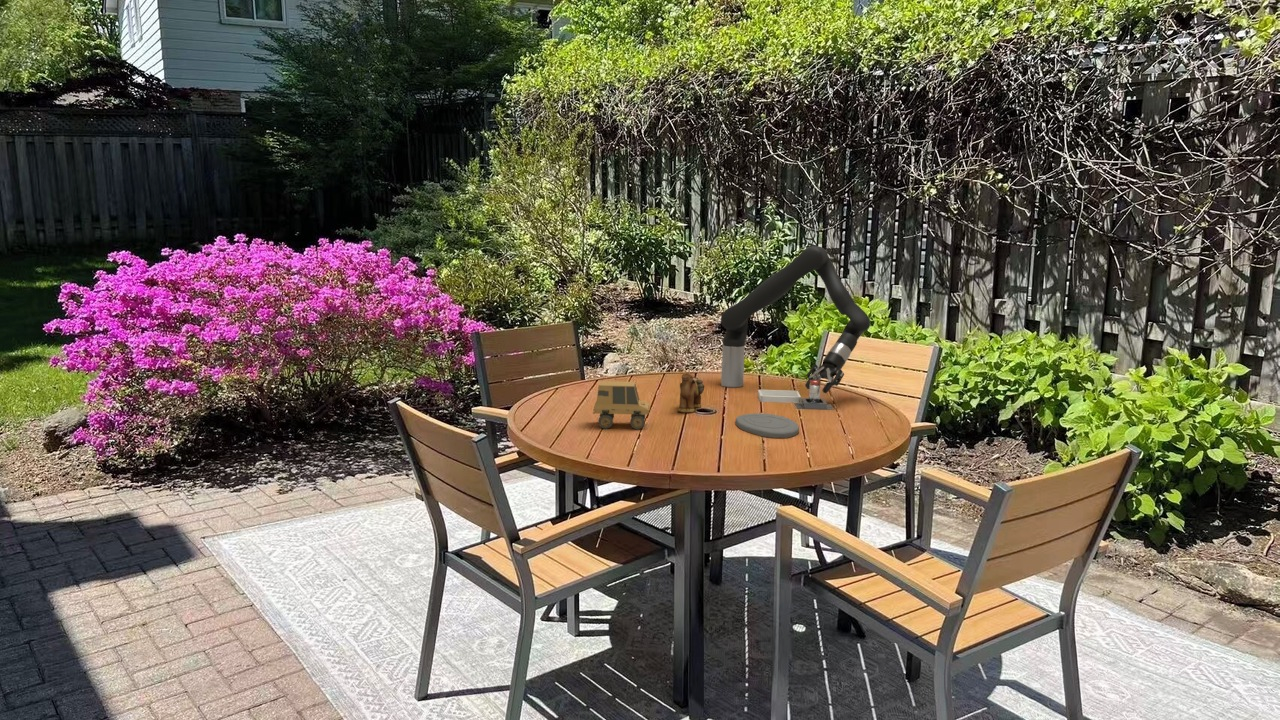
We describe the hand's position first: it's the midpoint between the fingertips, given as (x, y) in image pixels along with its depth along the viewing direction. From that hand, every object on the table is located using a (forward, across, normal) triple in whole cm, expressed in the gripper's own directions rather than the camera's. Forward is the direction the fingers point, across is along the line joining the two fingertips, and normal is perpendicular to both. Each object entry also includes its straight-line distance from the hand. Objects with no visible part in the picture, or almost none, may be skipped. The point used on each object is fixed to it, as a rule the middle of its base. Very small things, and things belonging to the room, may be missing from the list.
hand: (815, 389), depth 333 cm
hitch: (+5, 0, +5) cm, 7 cm away
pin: (+5, 0, +4) cm, 6 cm away
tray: (+7, -16, +3) cm, 18 cm away
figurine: (+34, -24, -24) cm, 49 cm away
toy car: (+59, -21, -48) cm, 79 cm away
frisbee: (+30, +10, -19) cm, 37 cm away
